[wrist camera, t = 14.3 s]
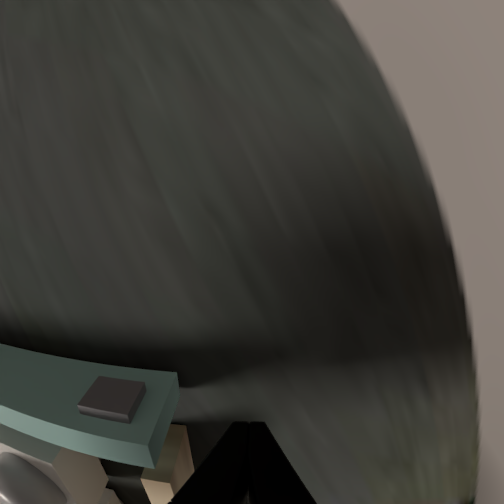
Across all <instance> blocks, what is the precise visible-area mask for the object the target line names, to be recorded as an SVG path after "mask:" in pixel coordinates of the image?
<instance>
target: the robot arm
mask: <svg viewBox="0 0 504 504" xmlns="http://www.w3.org/2000/svg"><path fill="white" fill-rule="evenodd" d="M248 491H249V502H250V504H317V503H316V502H315V500H314V499H313V497H312V496H311V494H310V493H309V491H308V490H307V488H306V487H305V485H304V484H303V482H302V481H301V479H300V478H299V476H298V475H297V473H296V471H295V470H294V468H293V467H292V465H291V464H290V462H289V461H288V459H287V457H286V456H285V454H284V453H283V451H282V449H281V448H280V446H279V445H278V443H277V441H276V440H275V438H274V436H273V435H272V433H271V432H270V430H269V428H268V427H267V425H266V423H265V422H250V423H248V422H246V421H234V422H233V423H232V424H231V425H230V427H229V428H228V429H227V431H226V432H225V433H224V435H223V436H222V437H221V439H220V440H219V441H218V442H217V444H216V445H215V446H214V448H213V449H212V450H211V451H210V453H209V454H208V455H207V456H206V458H205V459H204V460H203V461H202V463H201V464H200V465H199V466H198V468H197V469H196V470H195V471H194V473H193V474H192V475H191V476H190V477H189V479H188V480H187V481H186V482H185V484H184V485H183V486H182V487H181V488H180V489H179V491H178V492H177V493H176V494H175V495H174V497H173V498H172V499H171V502H168V503H167V504H246V501H247V494H248Z"/></svg>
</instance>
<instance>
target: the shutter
mask: <svg viewBox="0 0 504 504" xmlns="http://www.w3.org/2000/svg"><path fill="white" fill-rule="evenodd" d="M179 398H180V390H179V383H178V376H177V372H167V371H156V370H146V369H137V368H129V367H121V366H113V365H106V364H99V363H93V362H86V361H80V360H75V359H69V358H64V357H58V356H53V355H48V354H43V353H39V352H34V351H30V350H25V349H21V348H17V347H13V346H8V345H5V344H1V343H0V423H1V424H3V425H6V426H8V427H10V428H13V429H15V430H17V431H20V432H22V433H25V434H27V435H30V436H33V437H35V438H38V439H41V440H43V441H46V442H49V443H52V444H55V445H58V446H61V447H64V448H67V449H71V450H74V451H77V452H81V453H84V454H88V455H92V456H95V457H99V458H103V459H107V460H112V461H116V462H121V463H125V464H130V465H135V466H140V467H146V468H152V469H155V467H156V464H157V461H158V459H159V456H160V453H161V450H162V447H163V444H164V441H165V438H166V435H167V432H168V429H169V426H170V423H171V421H172V418H173V415H174V412H175V409H176V406H177V403H178V400H179Z"/></svg>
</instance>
